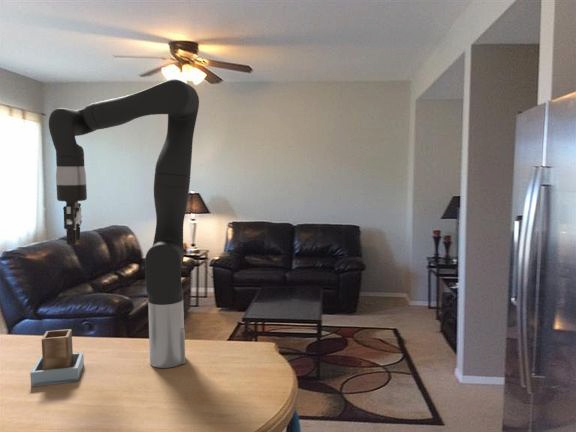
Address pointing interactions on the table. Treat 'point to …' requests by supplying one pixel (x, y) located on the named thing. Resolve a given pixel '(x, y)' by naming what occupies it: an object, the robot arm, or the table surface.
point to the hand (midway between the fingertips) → (74, 241)
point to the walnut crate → (57, 349)
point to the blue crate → (57, 372)
